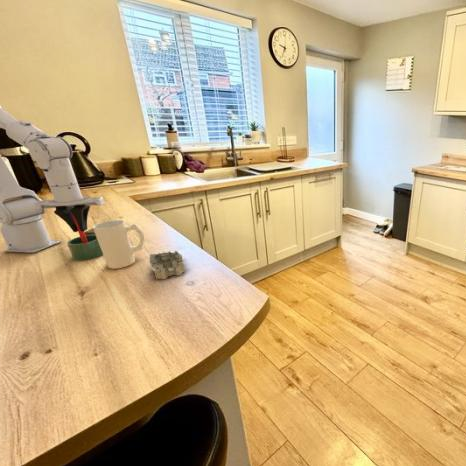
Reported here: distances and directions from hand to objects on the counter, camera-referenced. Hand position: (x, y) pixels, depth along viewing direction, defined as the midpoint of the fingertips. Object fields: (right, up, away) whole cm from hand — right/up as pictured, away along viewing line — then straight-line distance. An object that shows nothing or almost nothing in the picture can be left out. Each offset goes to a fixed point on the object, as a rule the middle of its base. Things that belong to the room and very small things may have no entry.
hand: (80, 230), depth 83 cm
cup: (0, -7, +3) cm, 8 cm away
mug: (+15, -9, -1) cm, 17 cm away
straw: (0, -4, +1) cm, 4 cm away
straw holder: (-6, -2, +15) cm, 17 cm away
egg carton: (+28, -11, -4) cm, 31 cm away
